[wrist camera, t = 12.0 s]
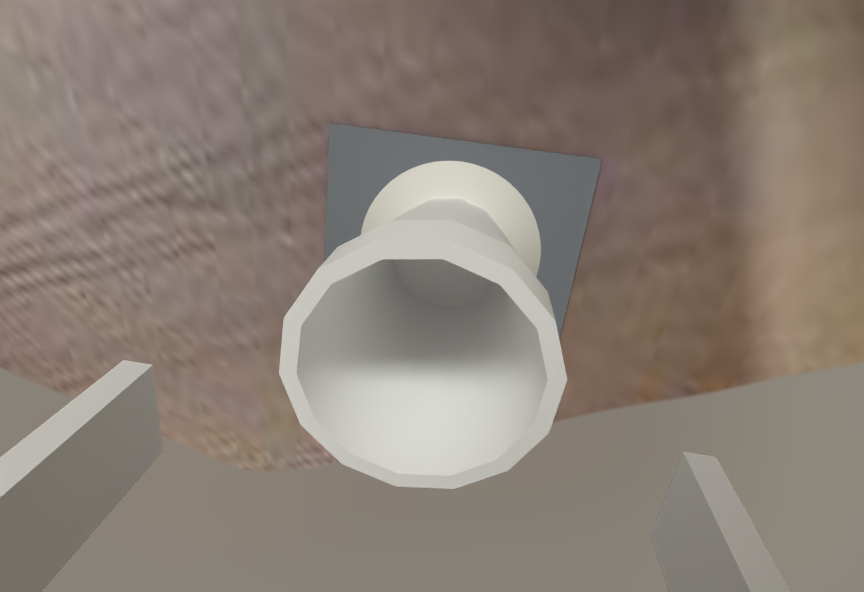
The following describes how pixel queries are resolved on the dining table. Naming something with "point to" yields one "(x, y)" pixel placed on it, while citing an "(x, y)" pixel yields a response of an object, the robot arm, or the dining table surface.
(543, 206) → the mat
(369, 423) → the foam cup
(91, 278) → the dining table surface
